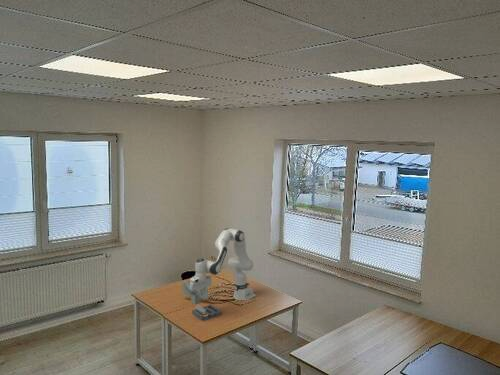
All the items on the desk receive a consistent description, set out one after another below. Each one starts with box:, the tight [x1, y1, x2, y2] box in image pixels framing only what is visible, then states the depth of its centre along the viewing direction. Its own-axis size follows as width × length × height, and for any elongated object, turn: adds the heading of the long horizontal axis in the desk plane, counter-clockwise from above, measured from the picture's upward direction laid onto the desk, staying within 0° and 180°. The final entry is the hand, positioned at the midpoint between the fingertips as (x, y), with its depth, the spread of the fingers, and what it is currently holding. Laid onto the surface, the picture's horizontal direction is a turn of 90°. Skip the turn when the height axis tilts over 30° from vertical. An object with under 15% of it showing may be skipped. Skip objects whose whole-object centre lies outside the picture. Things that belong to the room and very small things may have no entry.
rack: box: [192, 304, 222, 322], centre depth 337 cm, size 19×17×4 cm
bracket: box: [181, 280, 209, 305], centre depth 362 cm, size 28×7×20 cm, turn 67°
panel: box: [195, 304, 206, 316], centre depth 333 cm, size 2×12×7 cm, turn 39°
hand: (200, 293), depth 331 cm, fingers closed
